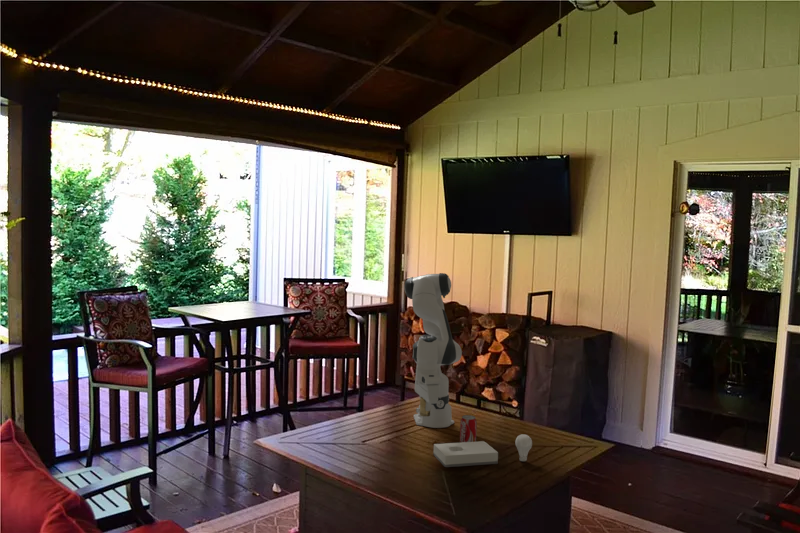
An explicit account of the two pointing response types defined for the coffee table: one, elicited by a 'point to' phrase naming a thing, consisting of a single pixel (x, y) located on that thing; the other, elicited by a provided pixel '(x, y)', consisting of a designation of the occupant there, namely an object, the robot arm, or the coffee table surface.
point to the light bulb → (523, 446)
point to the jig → (465, 454)
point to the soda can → (468, 429)
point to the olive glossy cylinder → (423, 408)
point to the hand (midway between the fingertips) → (425, 408)
